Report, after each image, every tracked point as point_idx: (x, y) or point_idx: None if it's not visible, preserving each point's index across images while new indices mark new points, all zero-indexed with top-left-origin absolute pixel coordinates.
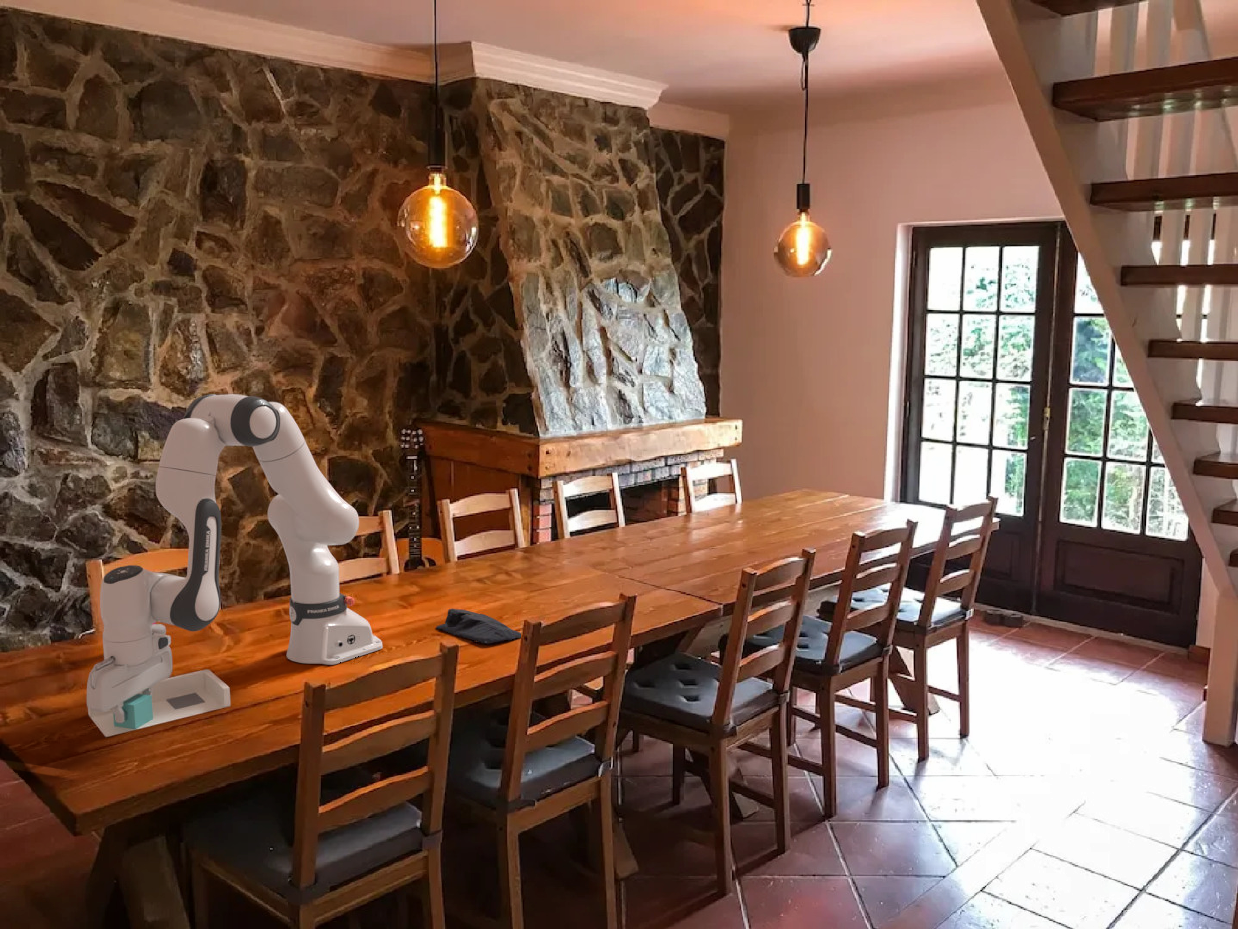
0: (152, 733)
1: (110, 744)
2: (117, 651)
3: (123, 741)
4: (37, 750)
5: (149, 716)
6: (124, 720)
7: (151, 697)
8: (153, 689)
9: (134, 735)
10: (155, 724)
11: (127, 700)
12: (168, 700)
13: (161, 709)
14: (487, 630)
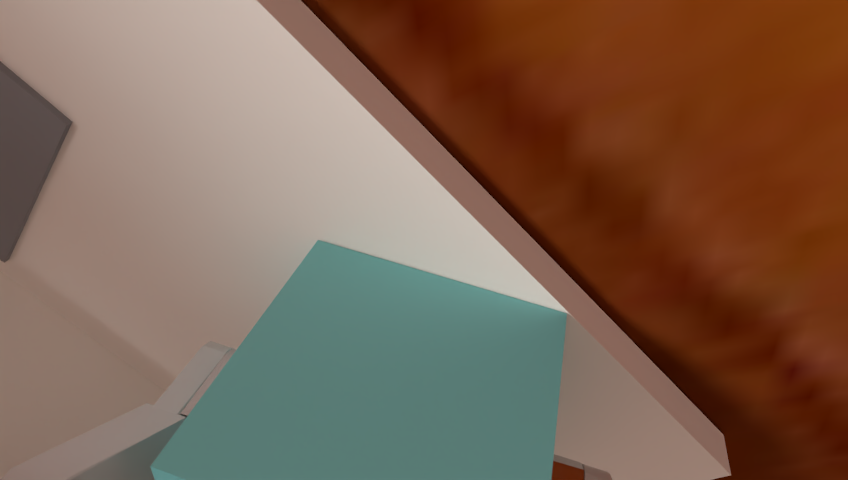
0: (543, 139)
1: (789, 402)
2: None
3: (734, 329)
4: None
5: (343, 284)
6: (586, 475)
7: (171, 442)
8: (14, 474)
9: (593, 282)
10: (430, 172)
11: None
12: (2, 243)
13: (135, 239)
14: None
